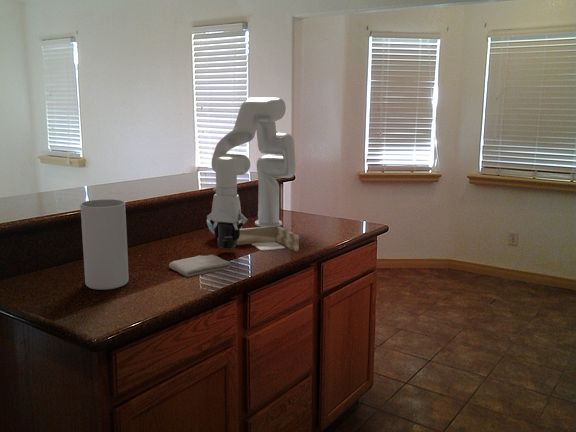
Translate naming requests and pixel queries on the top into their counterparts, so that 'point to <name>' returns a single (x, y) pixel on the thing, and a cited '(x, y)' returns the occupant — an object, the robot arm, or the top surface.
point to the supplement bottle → (226, 235)
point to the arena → (269, 238)
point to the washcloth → (199, 265)
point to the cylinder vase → (104, 243)
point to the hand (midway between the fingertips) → (227, 238)
